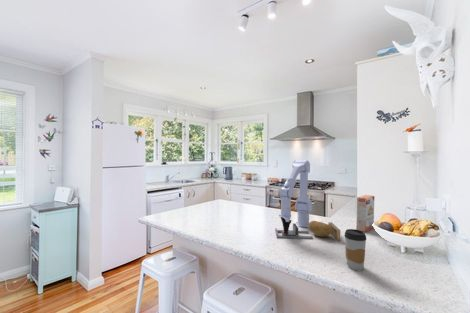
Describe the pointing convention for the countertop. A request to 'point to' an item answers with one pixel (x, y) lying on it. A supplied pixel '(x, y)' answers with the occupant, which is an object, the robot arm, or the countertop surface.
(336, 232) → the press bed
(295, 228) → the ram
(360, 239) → the coffee cup
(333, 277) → the countertop surface
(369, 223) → the cracker box
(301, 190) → the robot arm
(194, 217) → the countertop surface
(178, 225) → the countertop surface
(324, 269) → the countertop surface
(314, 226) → the potato
